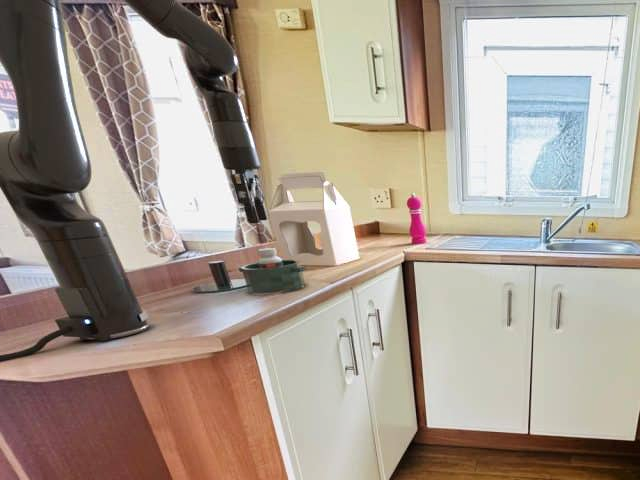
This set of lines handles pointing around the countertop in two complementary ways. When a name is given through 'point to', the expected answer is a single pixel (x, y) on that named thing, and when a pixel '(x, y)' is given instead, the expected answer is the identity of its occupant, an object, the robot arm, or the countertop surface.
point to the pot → (274, 277)
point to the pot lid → (220, 280)
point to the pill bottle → (269, 258)
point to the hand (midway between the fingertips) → (258, 221)
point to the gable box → (328, 213)
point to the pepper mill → (416, 221)
